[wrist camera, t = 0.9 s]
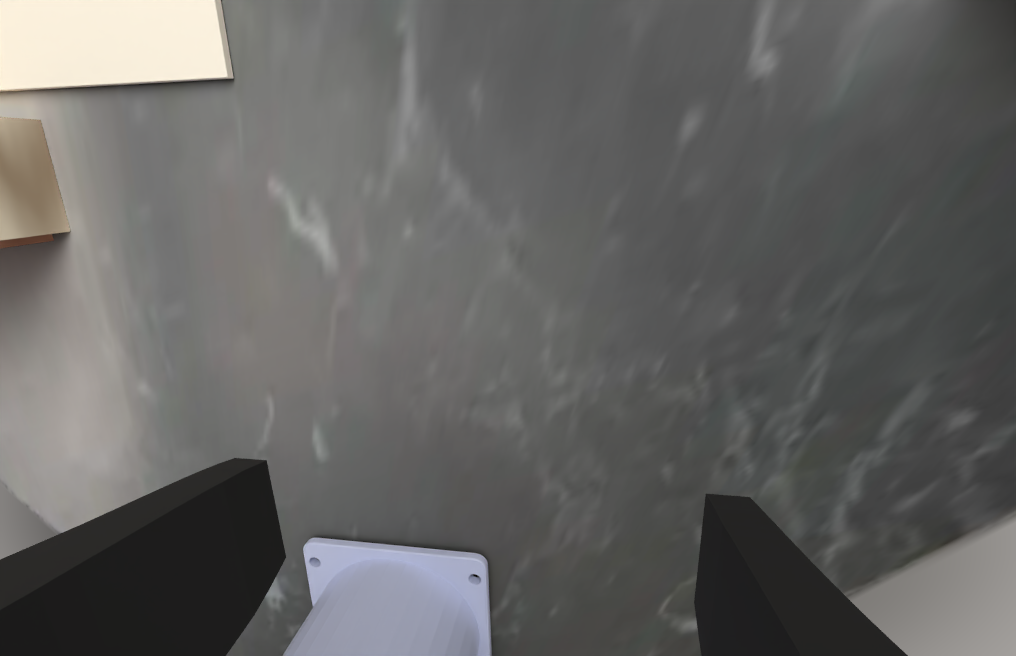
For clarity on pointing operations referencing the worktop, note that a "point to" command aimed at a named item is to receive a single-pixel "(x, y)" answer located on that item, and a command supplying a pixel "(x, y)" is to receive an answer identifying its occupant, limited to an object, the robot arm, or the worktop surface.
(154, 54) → the mat
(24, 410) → the worktop surface
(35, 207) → the marked block
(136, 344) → the worktop surface
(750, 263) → the worktop surface
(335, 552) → the robot arm
